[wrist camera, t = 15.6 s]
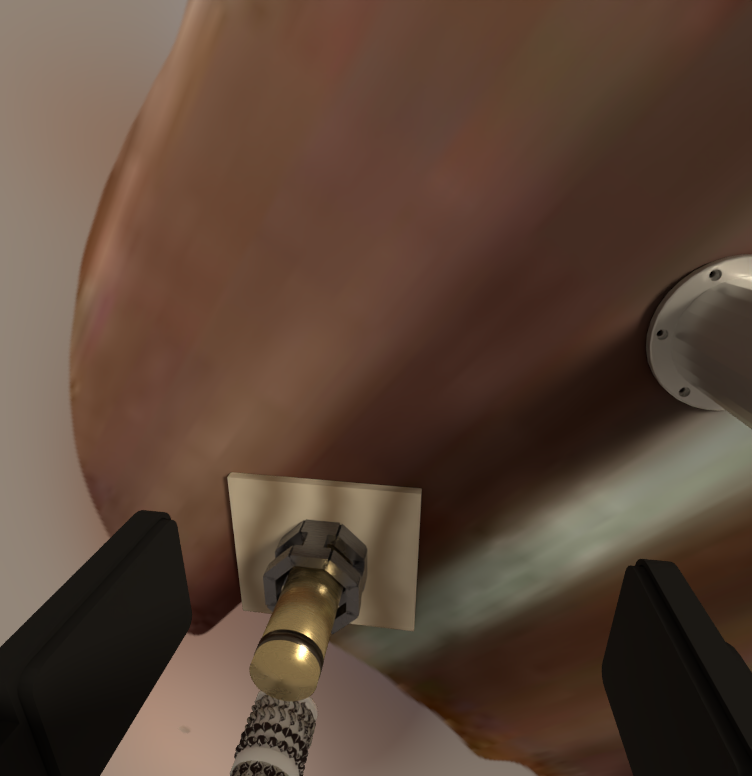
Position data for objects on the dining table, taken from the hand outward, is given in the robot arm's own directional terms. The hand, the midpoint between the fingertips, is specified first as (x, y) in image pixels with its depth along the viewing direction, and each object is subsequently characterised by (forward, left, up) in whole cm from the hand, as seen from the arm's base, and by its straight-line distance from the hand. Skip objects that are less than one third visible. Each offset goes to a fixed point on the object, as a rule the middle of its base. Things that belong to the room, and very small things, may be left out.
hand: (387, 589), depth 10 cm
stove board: (+10, +28, -33) cm, 45 cm away
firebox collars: (+10, +28, -33) cm, 45 cm away
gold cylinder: (+10, +28, -32) cm, 44 cm away
